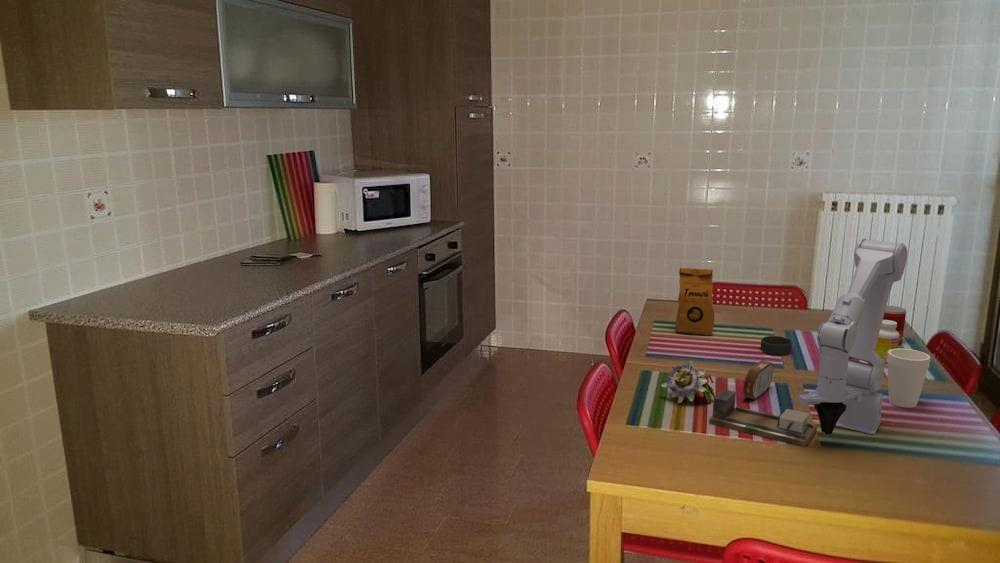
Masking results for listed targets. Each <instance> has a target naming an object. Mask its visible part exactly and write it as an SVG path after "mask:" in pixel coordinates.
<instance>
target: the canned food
mask: <svg viewBox="0 0 1000 563" xmlns="http://www.w3.org/2000/svg"><path fill="white" fill-rule="evenodd" d="M906 316H907V310H906V308H903V307H901V306H896V305H886V309H885V313H884V317H883V320H891V321H895V322H896V323H897V327H896V328H895V330H896V331H897V332H898V333H899V342H898V346H899V345H901V344H902V343H903V341H904V340H903V338H904V330H905V323H906Z"/></svg>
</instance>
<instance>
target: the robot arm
mask: <svg viewBox="0 0 1000 563" xmlns="http://www.w3.org/2000/svg"><path fill="white" fill-rule="evenodd" d="M853 259H854V267H855V268H856V269H855V271H854V275H853V277H852V279H851V283H850V286H849V287H848V291H847V293H845V294H842V295H840V296H839V297H838V298H839V299H838V300H837V302H836V304H835V305H834V308H833V310H832V312H831V315H830V316H829V318H828V320H827V321H826V322H822V323H821V324H820V326H819V328H818V332H817V335H816V341H817V342H816V343H817V347H818V348H817V349H818V351H817V352H818V354H819V355H820V356H819V366H818V374H817V375H818V376H817V383H816V384H817V386H816V388H815V390H813V391H811V392H808V393H805V394H800V395H798V405H800V406H801V407H808V406H811V405H813V406H814V408H815V410H816V413H817V415H818V419H819V424H820V429H821V430H820V431H821V432H822V433H823V434H825V435H832V434H833V432H834V430H835V427H838V428H843V429H848V430H853V431H856V432H861V433H865V434H871V435H876V432H877V431H878V428H879V427H880V425H881V420H882V408H883V398H884V396H883V393H881V392H878V391H879V390H880V389H881V387H882V384H883V381H884V377H885V376H884V373H885V367H884V366H885V363H884V361H883V359H882V358H881V357H880V356H879V355H878V354H877V353H876V351H875V347H876V344H877V340H878V336H879V332H880V328H881V325H882V321H883V317H884V313H885V309H886V306H888V300H889V297H890V294H891V290H892V287H893V285H894V283H896V282H899V281H901V280H902V277H903V275H904V273H905V268H906V264H907V262H908V261H907V260H908V248H907V246H906V244H905V243H904V242H899V243H898V242H891V241H884V240H883V241H882V240H874V239H867V238H861V239H860V240H858V241H857V243H856V245H855V248H854V252H853ZM858 360H859V361H858ZM870 363H871V364H870Z"/></svg>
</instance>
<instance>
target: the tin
mask: <svg viewBox="0 0 1000 563" xmlns="http://www.w3.org/2000/svg"><path fill="white" fill-rule="evenodd" d="M773 372H774V364H773V362H770V361H767V360H764V359H761V360H760V361H758V362H757V363H756V364H754V365H753V366H751V367H750V368H749V369H748V371H747V373H746V376H745V379H744V383H743V385H742V386H743V387H742V395H743V397H744V398H747V399H751V400H757V399H758V398H759V397H760V396H762V395H763V394H764V393H766V392H767V391H768V389H769V388H770V385H771V383H772V378H773Z"/></svg>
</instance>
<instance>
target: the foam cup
mask: <svg viewBox="0 0 1000 563" xmlns="http://www.w3.org/2000/svg"><path fill="white" fill-rule="evenodd" d="M887 362H888V367H887V385H888V386H887V388H888V389H887V392H888V401H889V403H890V404H891V405H893V406H897V407H901V408H904V409H905V408H907V409H908V408H909V409H910V408H916V407H917V406H918V403H919V400H920V396H921V393H922V391H923V390H922V389H923V386H924V384H925V380H926V375H927V373H928V370H929V368H930V365H931V364H930V363H931V356H930V354H927V353H926V352H923V351H920V350H916V349H909V348H897V349H890V350H889V351H888V353H887Z"/></svg>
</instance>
